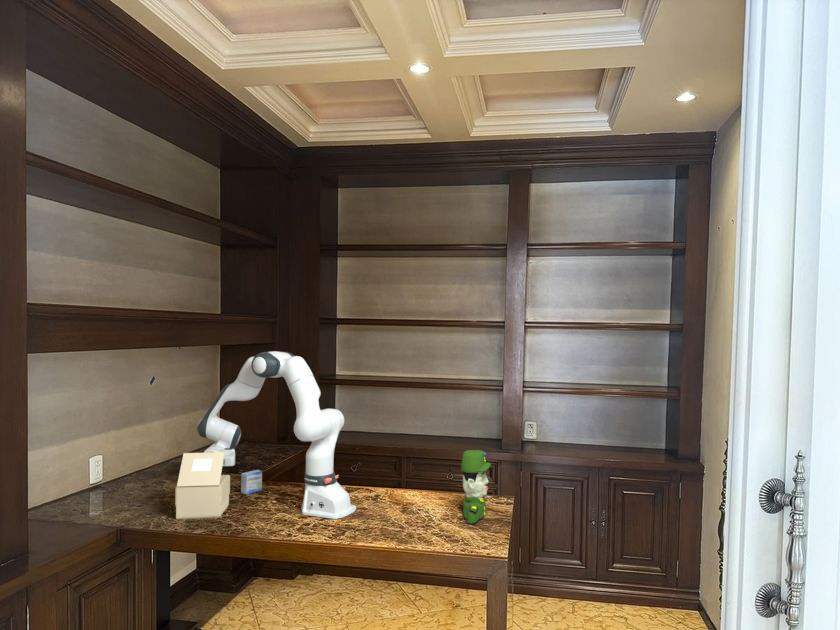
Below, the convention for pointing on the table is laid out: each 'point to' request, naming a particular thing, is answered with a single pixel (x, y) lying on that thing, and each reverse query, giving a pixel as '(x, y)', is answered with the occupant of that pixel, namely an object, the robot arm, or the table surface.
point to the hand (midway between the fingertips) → (204, 465)
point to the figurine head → (474, 484)
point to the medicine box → (251, 481)
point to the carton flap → (201, 469)
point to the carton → (202, 500)
